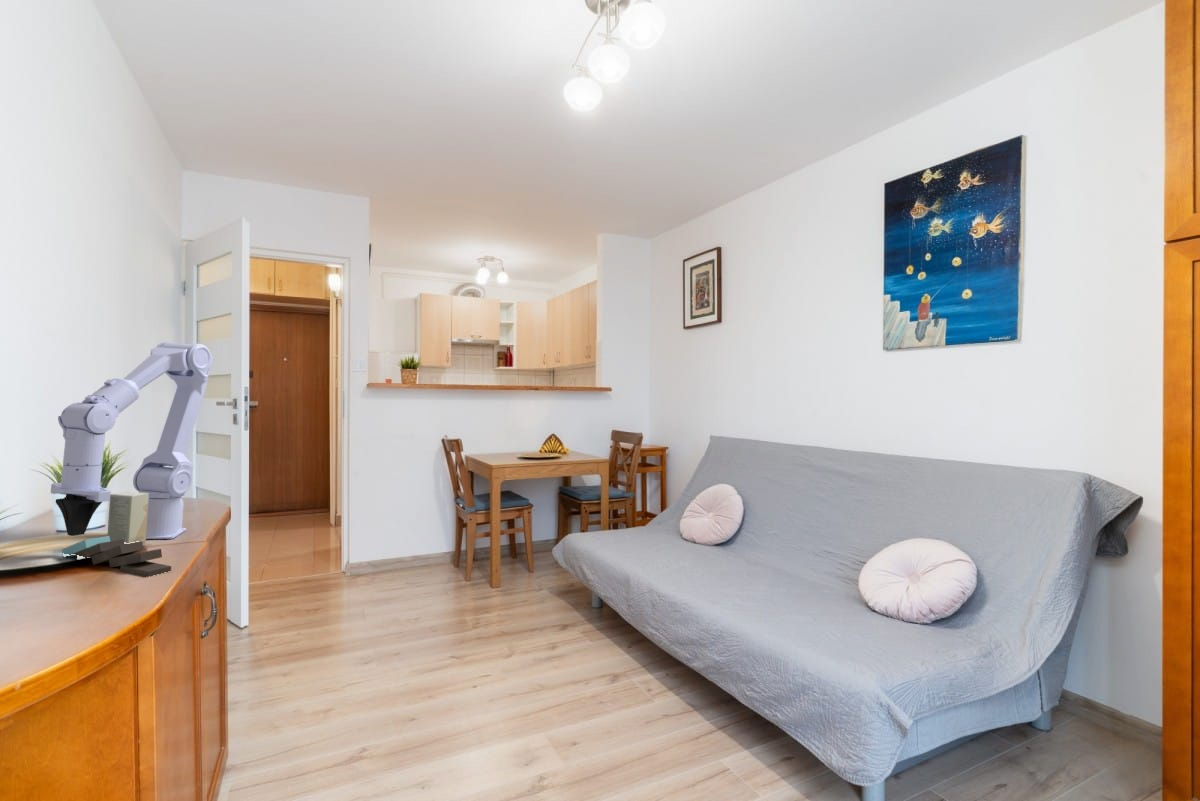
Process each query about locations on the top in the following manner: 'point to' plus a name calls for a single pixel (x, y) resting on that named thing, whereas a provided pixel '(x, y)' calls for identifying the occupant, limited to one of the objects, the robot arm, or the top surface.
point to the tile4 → (135, 558)
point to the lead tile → (84, 545)
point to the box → (128, 517)
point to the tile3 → (117, 552)
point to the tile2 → (99, 548)
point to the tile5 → (145, 568)
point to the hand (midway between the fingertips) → (76, 534)
